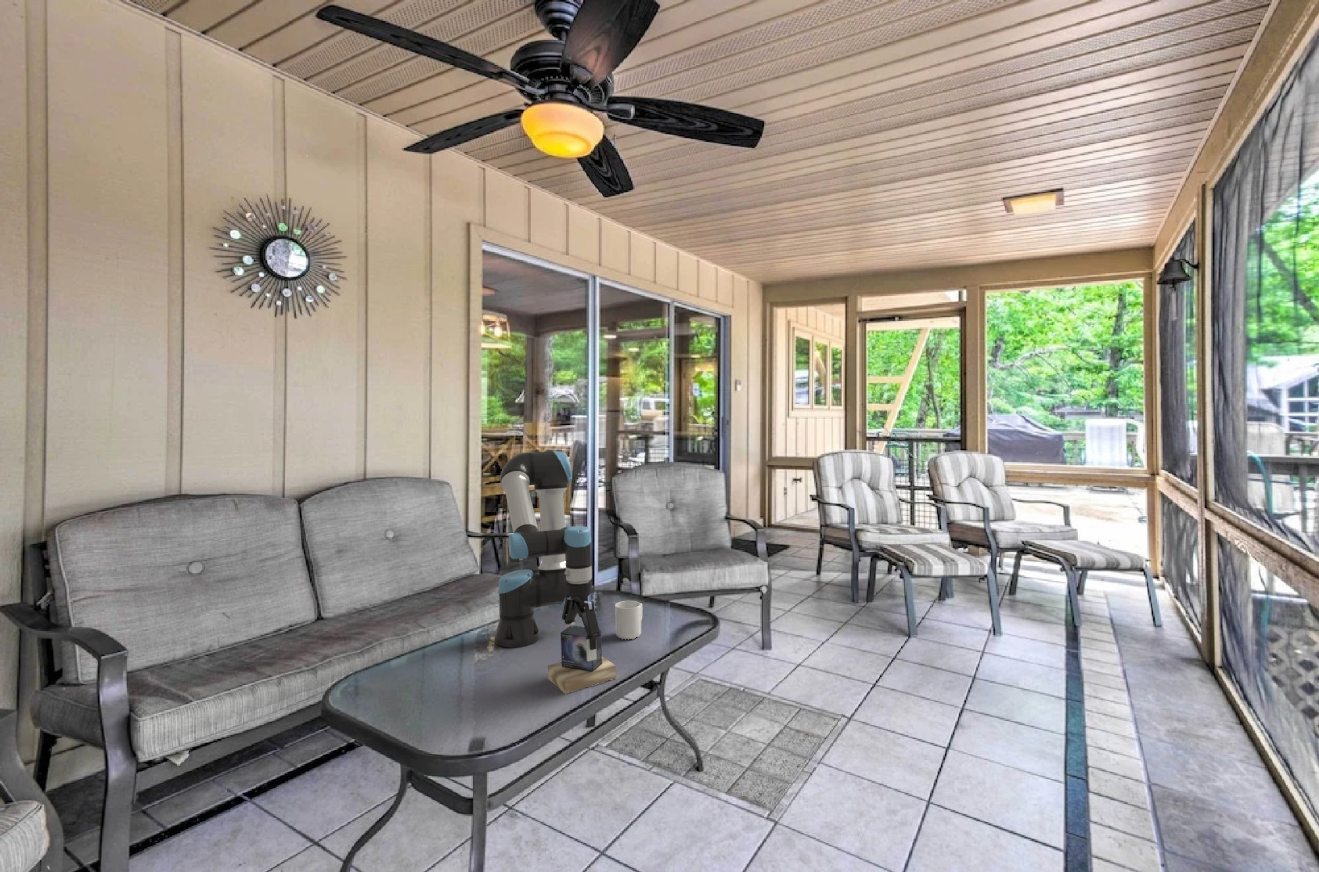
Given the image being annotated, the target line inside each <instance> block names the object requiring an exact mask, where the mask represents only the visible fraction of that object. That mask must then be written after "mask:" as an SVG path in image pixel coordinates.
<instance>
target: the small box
mask: <svg viewBox="0 0 1319 872" xmlns="http://www.w3.org/2000/svg"><path fill="white" fill-rule="evenodd" d="M599 631H600V637H597V638H596V655H597V659H596V660H592V661H587V648H586V637H587V633H586V630H585V627H584V626H578V625H575V626H573V625H571V626H569V627H568V628H566V627H565V629H564V630H562V631H560V646H561V647H560V650H561V652H560V653H561V662H562V667H566V668H572V669H578V670H584V671H590V672H593V671H594V670H596V669H597V668H598V667H599V666H600V665H601V664H602V657H603V655H602V653H603V652H602V648H603V647H602V629H601V628H599Z"/></svg>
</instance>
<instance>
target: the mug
mask: <svg viewBox="0 0 1319 872" xmlns="http://www.w3.org/2000/svg"><path fill="white" fill-rule="evenodd" d="M614 613H615V615H614V618H615V619H614V620H615V636H616V637H618V639H620V638H621V639H620V640H623V639H625V640H624V641H629V639H632V640H636V639H637V638H636V637H638V638H639V637H640V635H642V620H643V603H641V602H639V601H637V600H623V601H619V602H616V603H615V604H614ZM635 638H636V639H635ZM626 639H628V640H626Z"/></svg>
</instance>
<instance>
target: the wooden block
mask: <svg viewBox="0 0 1319 872" xmlns="http://www.w3.org/2000/svg"><path fill="white" fill-rule="evenodd" d="M616 667H617V666H616V665H615V664H614V663H613V662H611V661H609V660H608V659H607V658H605V657H603V656H602V664H601V665H600V666H599V667H598V668H597V669H596V670H594V671H593V672H590V671H584V670H578V669H572V668H566V667H562V661H560V662H556V663H553V664H548V665H547V676H548V677H547V678H548V679H547V680H548V681H550V682H551V683H552V685H555V687H557V688H558V689H559V690H560V691H561V692H562V691H563V694H564V695H567V694H566V693H568V694H570V693H569V692H571V693H573V692H572V691H574V692H577V690H578V691H581V690H584V689H586V688H585V687H588V688H591V687H593V686H592V685H594V686H596V685H595V684H597V683H601V684H603V683H602V682H604V681H607V680H610V679H614V680H616V679H617V673H616V672H617V671H616V670H617V669H616ZM615 678H616V679H615ZM604 683H605V682H604ZM590 686H591V687H590ZM583 688H584V689H583ZM580 689H581V690H580Z"/></svg>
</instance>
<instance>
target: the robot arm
mask: <svg viewBox="0 0 1319 872" xmlns="http://www.w3.org/2000/svg"><path fill="white" fill-rule="evenodd" d="M572 472H573V471H572V466H571V463H570V459H569V457H568V455H567V453H566V452H564V451H554V450H552V451H539V452H538V451H537V452H521V453H518V454H515V455H514V456H513V457H511V458H510V459H508V461H507V462H506V463H505V464H504V465H503V468H502V470H501V472H500V476H499V480H500V481H499V482H500V487H501V489H502V490H503V492H504V493H505V497H506V502H507V507H508V513H509V519H510V523H511V527H512V533H511V534H509V536H508V538H507V541H508V542H507V543H508V554H509V558H511V559H512V560H518V559H519V560H526V559H531V558H539V557H540V558H541V563H540V565H539V566H538V567H537V569H538V571H537V573H536V572H535V573H534V571H533V570H531V569H527V568H524V569H518V570H513V571H510V572H506V573H505V574H504V575H503V574H502V575H501V577H500V578H499V579H498V589H497V593H498V612H499V615H498V616H499V619H498V620H499V621H498V622H497V623H498V624H497V628H496V631H495V633H494V634H495V635H494V643H495V644H496V645H497V646H498V645H499V647H501V646H502V647H501V648H521V647H526V646H529V645H532V644H534V643H536V642H537V641H539V640H540V638H541V634H540V633H541V631H540V628H539V626H538V623H537V620H536V618H535V608H536V609H537V608H542V607H551V606H558V605H559V606H562V605H563V609H562V614H561V619H562V620H563V621H564V624H565V629H566V628H568V627H569V626H571V625H573V626H576V623H575V622H576V619H575V618H576V616H577V615H578V617H579V618H581V621H582V623H583V627H585V630H586V633H587V637H586V648H587V661H592V660H596V659H597V655H596V638H597V637H600V631H599V629H600V627H599V623H598V619H597V615H596V611H595V602H594V601H589V598H588V597H589V595H591V594H592V593H593V581H592V579H593V569H592V568H593V565H592V536H591V529H590V528H589V527H588V526H584V525H583V526H582V525H579V526H577V525H575V526H566V522H565V521H566V519H565V516H566V515H565V502H564V501H565V500H564V494H565V492H566V491H567V489H568V485H569V484H571V483H572V479H573V473H572ZM530 486H534V489H533V490H534V492H536V494H537V495H538V496H539V497H538V499H539V518H540V531H539V527H538V523H537V522H538V521H537V519H536V514H535V511H534V507H533V501H532V498H531V494H530V490H529V487H530Z"/></svg>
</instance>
